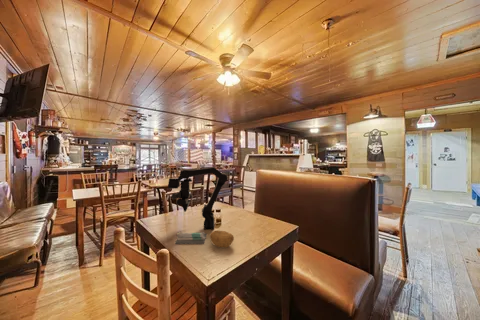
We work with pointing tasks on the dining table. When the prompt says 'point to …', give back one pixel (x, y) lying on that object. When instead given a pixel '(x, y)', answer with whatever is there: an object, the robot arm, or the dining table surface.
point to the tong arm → (190, 234)
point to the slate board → (191, 240)
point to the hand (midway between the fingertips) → (185, 211)
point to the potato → (221, 238)
